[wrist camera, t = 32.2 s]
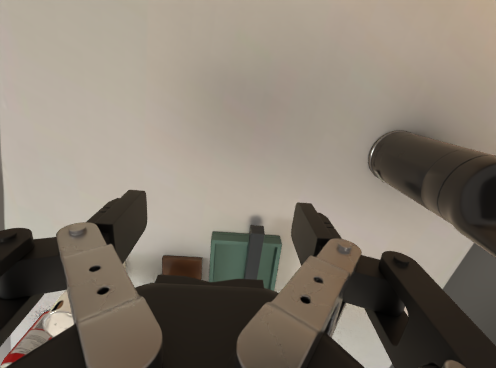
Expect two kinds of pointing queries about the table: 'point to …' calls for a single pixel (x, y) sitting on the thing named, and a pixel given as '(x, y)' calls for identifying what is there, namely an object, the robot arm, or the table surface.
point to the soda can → (28, 342)
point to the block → (254, 252)
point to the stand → (182, 266)
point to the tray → (242, 257)
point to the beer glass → (59, 316)
